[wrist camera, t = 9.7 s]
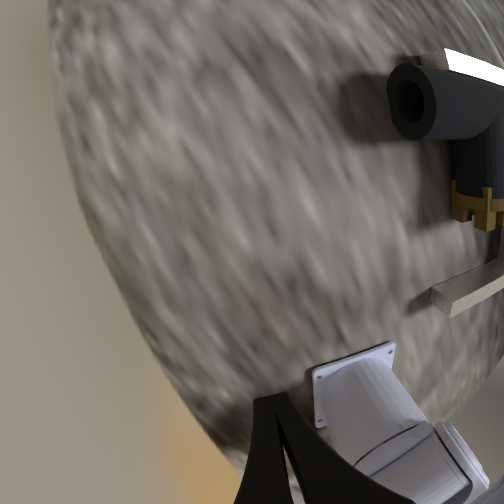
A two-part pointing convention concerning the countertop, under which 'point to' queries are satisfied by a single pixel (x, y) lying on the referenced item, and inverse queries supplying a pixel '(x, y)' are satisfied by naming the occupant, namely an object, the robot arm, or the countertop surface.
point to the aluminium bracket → (500, 269)
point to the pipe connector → (457, 133)
